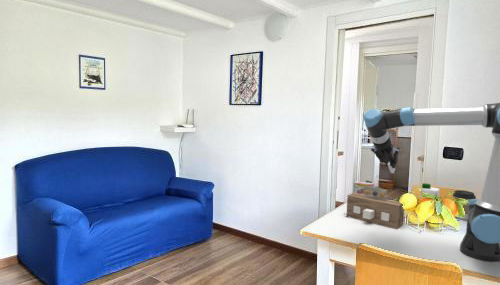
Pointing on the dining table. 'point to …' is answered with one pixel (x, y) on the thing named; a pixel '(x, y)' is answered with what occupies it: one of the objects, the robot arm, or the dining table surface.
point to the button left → (357, 209)
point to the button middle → (369, 213)
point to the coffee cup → (464, 195)
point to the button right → (385, 216)
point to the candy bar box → (361, 187)
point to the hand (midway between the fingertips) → (393, 171)
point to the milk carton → (429, 190)
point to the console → (376, 207)
